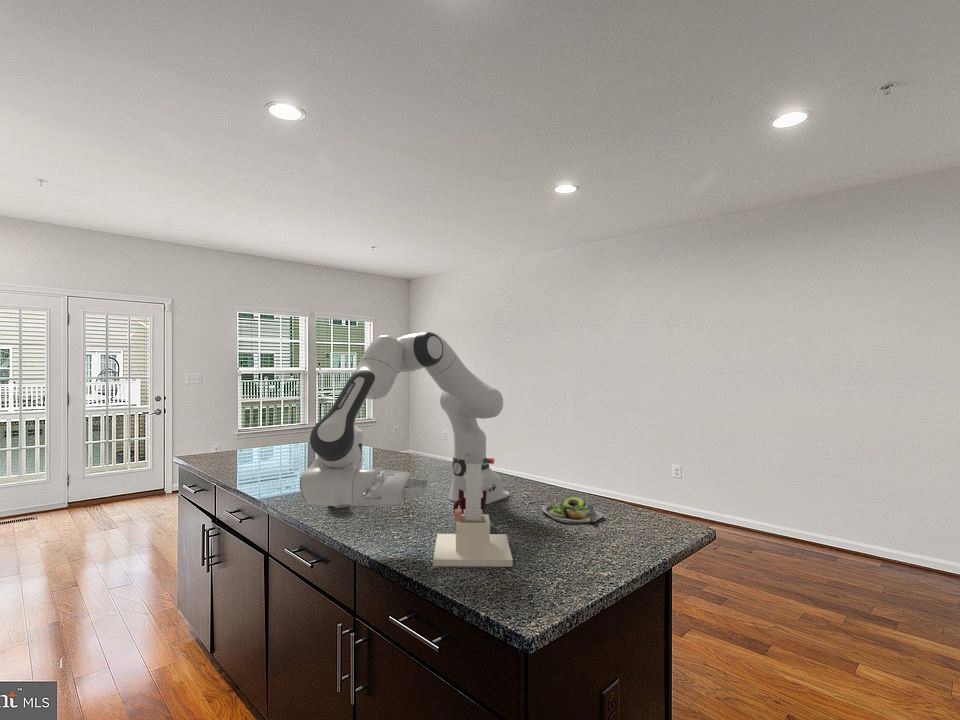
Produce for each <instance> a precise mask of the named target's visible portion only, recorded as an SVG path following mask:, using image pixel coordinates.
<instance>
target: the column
mask: <svg viewBox="0 0 960 720" xmlns="http://www.w3.org/2000/svg"><path fill="white" fill-rule="evenodd" d="M465 464H466V472H464V479H466V491H464V498H466V509H464V516H463V517H465V523H480V520H481V517H483V515H484V513H483V511H482V509H481V498H483V491H481V479H483V473H481V464H483V453H465Z"/></svg>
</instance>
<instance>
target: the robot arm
mask: <svg viewBox="0 0 960 720" xmlns="http://www.w3.org/2000/svg"><path fill="white" fill-rule="evenodd" d="M422 369H425V371H426V372H427V374H428V375H429V376H430V378H431V379H432V380H433V381H434V383H435V384H436V385H437V386H438V387H439V388H440V389H441V390H442V392H441V395H440V398H439V403H440V407H441V409H442V410H443V411H444V412H445V414H446V415H447V417H448V419H449V421H450V422H449V423H450V424H451V428H452V433H453V447H454V449H453V451H454V452H453V457H452V471H453V473H452V479H451V485H450V486H451V487H450V491H449V495H448V500H450V501H452V502H454V503H455V502H456V501H457V500H459V488H460V487H462V486H466V479H464V472H466V464H465V453H483V464H481V473H483V479H481V486H482V487H485V488H486V503H485V505H488V504H492V503H494V502H497V501H501V500H502V499H505V498H508V497H510V496H511V494H510V492H509V491H508V490H504V482H503V479H502V477H501V476H499V474H497V473H496V472H495V471H494V470H493V469H491V467H490V465H494V464H495V459H494V457H493V458H492V457H488V458H487V435H486V433H485V431H483V430H482V429H481V428H480V426H479V424H478V421H477V419H480V420H484V419H491V418H496V417H497V416H499V415H500V413H501V412H502V410H503V408H504V398H503V395H502V393H501V392H500V391H499V390H498V389H496V388H494V387H492V386H490V385H488V384H487V383H485V382H484V381H483V380H481V379H480V378H479V377H477V375H475V374H474V373H472V371H471V370H469V368H468V367H467V366H466V365H465V364H464V363H463V362H462V360H461V359H460V357H459V356H458V354H457V353H456V352H455V351H454V349H453V348H452V346H451V345H450V344H448V342H447V341H446V340H445V339H444V338H443V337H442V336H441V335H440V334H438V333H435V332H431V331H421V332H417V333H415V332H414V333H410V334H409V333H408V334H406V335H402V336H400V337H394V336H392V335H390V334H389V335H387V334H383V335H382V334H381V335H378V336H376V337H375V338H374V339H373V340H372V341H371V343H370V344H369V345H368V347H367V348H366V350H365V351H364V352H363V355H362V357H361V359H360V361H359V363H358V365H357V366H356V369H355V370H354V372H353V373H352V375H351V376H350V377H349V379H348V380H347V382H346V383H345V385H344V387H343V388H342V390H341V392H340V393H339V395H338V397H337V399H336V400H335V402H334V403H333V405H332V407H331V408H330V409H329V411H328V412H327V413H326V414H325V415H324V416H323V417H322V418H321V419H320V420H319V421H318V422H317V423H316V424H315V425H314V426H313V428H312V430H311V432H310V436H309V443H310V447H311V448H312V450H313V452H314V453H315V454H316V455H317V457H316V458H315V460H314V461H313V463H311V465H310V466H309V467H308V468H307V469H305V470H304V471H302V473H301V475H300V477H299V478H300V481H299V487H300V493H301V496H302V498H303V499H304V501H305V502H306V503H308V504H310V505H316V506H327V507H330V506H331V507H332V506H339V505H342V504H348V505H349V506H352V507H375V506H376V505H377V506H400V505H402V504H403V502H404V500H405V499H406V500H409V499H413V498H423V497H424V496H425V488H427V487H428V480H427V479H425V478H424V479H421V478H418V477H411V476H412V474H411V473H410V472H407V471H403V470H402V471H400V470H391V469H385V470H382V469H383V468H381V467H373V468H362V469H358V467H359V463H360V459H361V451H360V448H359V445H358V442H357V440H356V438H355V434H354V422H355V423H356V419H357V417H358V416H359V414H360V411H361V409H362V408H363V406H364V404H365V403H366V401H367V400H368V399H369V400H379V399H382V398H385V397H386V396H387V395H388V394H389V392H390V391H391V389H392V387H393V386H394V384H395V381H396V379H397V376H398V374H399V373H409V372H415V371H417V370H422ZM414 487H415V488H414Z"/></svg>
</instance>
